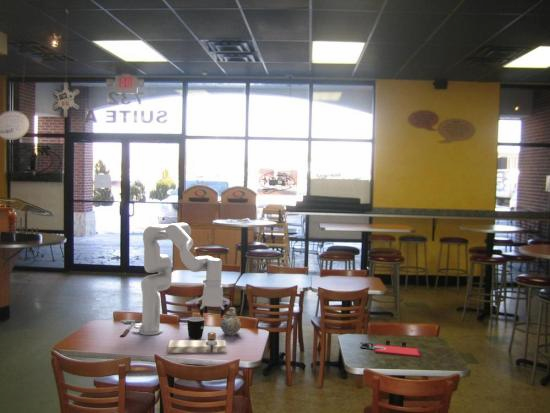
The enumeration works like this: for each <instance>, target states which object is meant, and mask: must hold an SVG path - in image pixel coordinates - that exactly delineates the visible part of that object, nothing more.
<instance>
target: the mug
mask: <svg viewBox="0 0 550 413" xmlns="http://www.w3.org/2000/svg"><path fill="white" fill-rule="evenodd" d="M186 321H187V323H186V324H187V333H188V337H189V339H190V340H201V339H202V337H203V334H204V330H205V329H204V328H205V318H204V317H201V316H191V317H189V318H187V320H186Z"/></svg>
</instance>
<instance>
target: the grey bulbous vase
mask: <svg viewBox="0 0 550 413" xmlns="http://www.w3.org/2000/svg"><path fill="white" fill-rule="evenodd" d="M225 314H226V316H224V317H222V319H221V322H220V329H221V330H222V332H223V334H224V335H225V336H230V337H231V336H233V337H234V336H235V334H237V333H238V332H239V331H240V330H241V328H242V324H241V323H242V322H241V319H240V318H239V317H237V309H236V308H235V307H233V306H232V307H229V309H228V311H226V313H225Z"/></svg>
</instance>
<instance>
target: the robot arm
mask: <svg viewBox="0 0 550 413" xmlns="http://www.w3.org/2000/svg"><path fill="white" fill-rule="evenodd" d="M191 235H192V228H191V226H190V225H189V224H188V223H186V222H173V223H170V224H169V223H167V224H153V225H150V226H148V227H146V228H145V229H144V231H143V234H142V241H143V249H144V250H143V251H144V252H143V265H144V266H143V268H144V271H145V272H146V273H150V275H146V276H144V277H143V278H142V280H141V281H140V289H141V294H142V297H141V298H142V299H141V300H142V303H141V304H142V307H141V308H142V309H141V310H142V312H141V315H142V316H141V321H142V322H141V323H139V324H137V323H135V324H134V325H133V329H135V330H137V329H138V333H139V334H141V335H145V336H153V335H154V336H155V335H159V334H162V333H163V328H161V327H160V323H161V322H160V320H161V317H160V316H161V298H160V296H159V294H158V292H162V291H166V290H168V289H170V288H171V285H172V277H173V276H172V269H173V268H172V267H173V266H172V265H173V264H172V260H171V257H170V256H169V255H167V254H166V253H165V254H163V253H161V246H160V243H159V242H158V241H169V240H170V241H171V242H172V243H173V244H174V245H175V246H176V247H177V249H178V250H179V257H180V260H181V262H182V264H183V265H184V266H185V268H187V269H188V271H190V272H193V273H199V272H206V273H205V274H206V275H205V280H203V281H202V284H204V286H203V288H202V289H203V291H202V296H200V297H198V298H196V299H195V300H194V302H195V304H196V306H197V308H199V310H200V311H199V313H200V314H199V316H200V317H202V318H204V308H205V307H220V318H222V319H223V316H225V315H224V313H225V312H224V311H225V309H226V308H228V306H229V304H230V302H231V301H230V299H228V298H227V297H224V290H223V285H222V269H223V261H222V259H221V258H218V257H213V256H210V255H199V256H194V255H193V253H192V252H191V251H190V250H191V248H192V247H193V246H194V240H193V238H192V237H191ZM151 273H155V274H151ZM200 301H201V302H202V303H200ZM224 302H225V303H224Z"/></svg>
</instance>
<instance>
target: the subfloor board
mask: <svg viewBox="0 0 550 413" xmlns="http://www.w3.org/2000/svg"><path fill="white" fill-rule="evenodd" d="M207 342H208V339H204V340H203V339H202V340H201V339H190V340H187V339H186V340H181V339H179V340H177V339H175V340H173V339H172V340H169V343H168V351H167V352H168V353H169V354H171V353H172V354H173V353H175V354H176V353H177V354H178V353H181V354H182V353H183V354H185V353H188V354H189V353H196V354H197V353H226V352H227V345H226V343H227V342H226V340H225V339H222V340H221V339H216V342H215V345H207Z"/></svg>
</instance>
